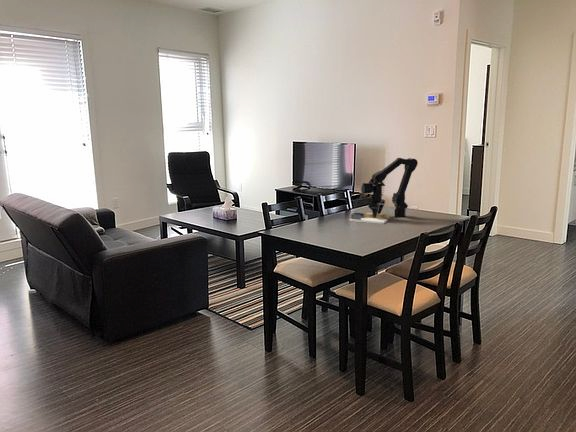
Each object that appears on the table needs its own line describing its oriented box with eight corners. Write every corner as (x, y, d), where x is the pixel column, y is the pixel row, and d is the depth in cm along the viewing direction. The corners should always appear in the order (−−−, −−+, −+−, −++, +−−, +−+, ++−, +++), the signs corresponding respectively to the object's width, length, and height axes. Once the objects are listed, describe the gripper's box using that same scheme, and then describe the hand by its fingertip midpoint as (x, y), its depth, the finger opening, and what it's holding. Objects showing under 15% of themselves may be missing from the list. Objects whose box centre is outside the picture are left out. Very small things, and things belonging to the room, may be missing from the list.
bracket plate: (387, 221, 294) (387, 214, 294) (383, 223, 287) (383, 217, 286) (354, 218, 304) (354, 212, 303) (349, 221, 296) (349, 214, 296)
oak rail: (389, 218, 303) (389, 214, 302) (387, 220, 299) (387, 215, 299) (363, 216, 312) (363, 212, 311) (361, 217, 308) (361, 213, 308)
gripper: (369, 190, 314) (369, 212, 317) (360, 194, 297) (360, 218, 300) (385, 191, 309) (385, 214, 312) (377, 195, 292) (377, 219, 295)
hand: (376, 216), depth 305 cm, fingers open, 9 cm apart
